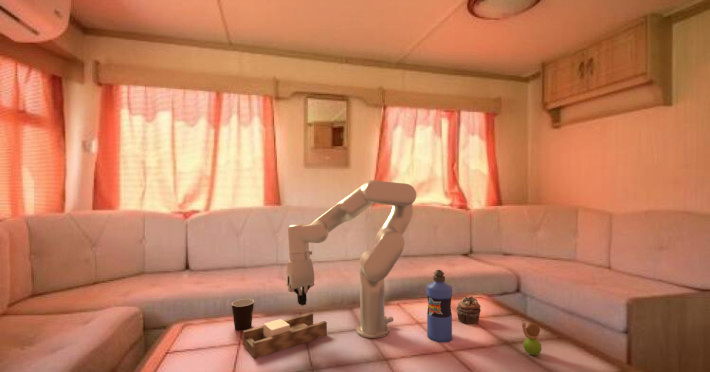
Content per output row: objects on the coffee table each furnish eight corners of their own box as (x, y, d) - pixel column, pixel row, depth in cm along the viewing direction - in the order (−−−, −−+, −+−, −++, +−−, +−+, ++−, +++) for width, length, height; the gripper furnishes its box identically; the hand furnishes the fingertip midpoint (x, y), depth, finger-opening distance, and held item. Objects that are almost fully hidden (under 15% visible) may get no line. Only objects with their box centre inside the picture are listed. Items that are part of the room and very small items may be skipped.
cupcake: (470, 315, 145) (470, 292, 145) (485, 324, 136) (485, 299, 136) (451, 318, 142) (451, 294, 142) (465, 327, 133) (465, 302, 133)
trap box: (311, 324, 136) (311, 312, 136) (326, 335, 127) (326, 322, 127) (243, 344, 120) (243, 331, 120) (254, 358, 110) (254, 343, 110)
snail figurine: (517, 350, 114) (517, 315, 114) (534, 349, 114) (534, 315, 114) (526, 359, 108) (526, 322, 108) (545, 358, 109) (545, 321, 109)
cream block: (281, 329, 125) (281, 318, 125) (290, 335, 120) (289, 324, 120) (263, 334, 121) (263, 323, 121) (271, 341, 116) (271, 330, 116)
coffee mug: (247, 332, 130) (247, 307, 129) (227, 330, 131) (227, 305, 131) (261, 320, 141) (261, 297, 141) (243, 319, 143) (242, 296, 143)
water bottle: (435, 329, 131) (435, 266, 131) (457, 336, 125) (456, 270, 125) (422, 336, 125) (421, 270, 125) (444, 345, 118) (443, 275, 118)
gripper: (311, 251, 134) (314, 297, 134) (277, 258, 125) (279, 306, 125) (321, 254, 128) (324, 301, 128) (285, 261, 119) (288, 312, 119)
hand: (302, 304), depth 127 cm, fingers closed
